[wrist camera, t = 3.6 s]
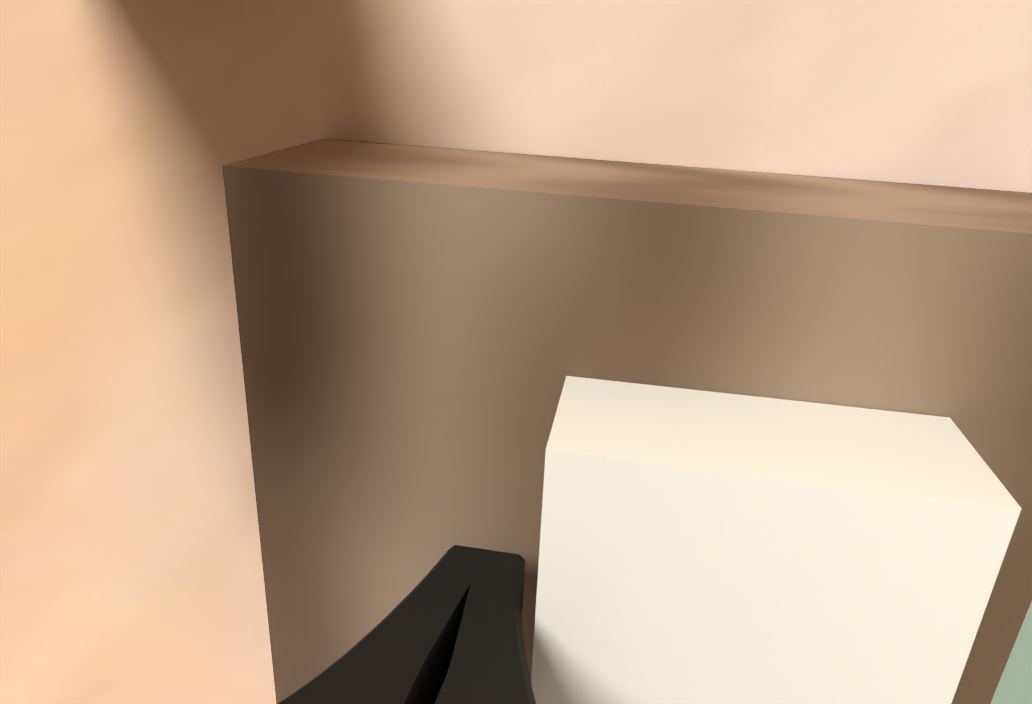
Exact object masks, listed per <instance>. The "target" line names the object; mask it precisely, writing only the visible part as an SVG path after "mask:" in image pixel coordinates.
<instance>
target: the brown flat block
mask: <svg viewBox="0 0 1032 704" xmlns="http://www.w3.org/2000/svg"><path fill="white" fill-rule="evenodd" d="M223 174H224V183H225V193H226V203H227V213H228V223H229V233H230V243H231V253H232V263H233V273H234V283H235V293H236V303H237V313H238V323H239V333H240V343H241V353H242V363H243V373H244V383H245V393H246V403H247V413H248V423H249V433H250V443H251V453H252V463H253V472H254V482H255V492H256V502H257V512H258V522H259V532H260V542H261V552H262V562H263V572H264V582H265V592H266V602H267V612H268V622H269V632H270V642H271V652H272V662H273V672H274V682H275V692H276V702H277V704H278V703H279V702H281V701H282V700H284V699H285V698H287V697H288V696H290V695H291V694H293V693H294V692H296V691H297V690H299V689H300V688H301V687H303V686H304V685H306V684H307V683H308V682H310V681H311V680H312V679H314V678H315V677H316V676H318V675H319V674H320V673H322V672H323V671H324V670H325V669H327V668H328V667H329V666H331V665H332V664H333V663H334V662H335V661H337V660H338V659H339V658H340V657H342V656H343V655H344V654H345V653H346V652H348V651H349V650H350V649H351V648H352V647H353V646H354V645H356V644H357V643H358V642H359V641H360V640H361V639H362V638H363V637H365V636H366V635H367V634H368V633H369V632H370V631H371V630H372V629H373V628H375V627H376V626H377V625H378V624H379V623H380V622H381V621H382V620H383V619H384V618H385V617H386V616H387V615H388V614H389V613H390V612H391V611H392V610H393V609H394V608H395V607H396V606H397V605H398V604H399V603H400V602H401V601H402V600H403V599H404V598H405V597H406V596H407V595H408V594H409V593H410V592H411V591H412V590H413V589H414V588H415V587H416V586H417V585H418V584H419V583H420V582H421V581H422V579H423V578H424V577H425V576H426V575H427V574H428V573H429V572H430V571H431V569H432V568H433V567H434V566H435V565H436V564H437V563H438V561H439V560H440V559H441V558H442V557H443V556H444V554H445V553H446V552H447V551H448V550H449V549H450V548H451V547H453V546H454V545H460V546H466V547H473V548H480V549H486V550H493V551H500V552H506V553H513V554H520V555H521V557H522V558H523V559H524V560H525V576H524V592H523V608H522V628H523V636H524V644H525V652H526V658H527V664H528V669H529V674H530V679H531V675H532V659H533V643H534V627H535V611H536V595H537V579H538V563H539V548H540V532H541V516H542V500H543V484H544V468H545V452H546V447H547V443H548V439H549V436H550V432H551V429H552V425H553V422H554V418H555V414H556V411H557V407H558V404H559V400H560V397H561V393H562V390H563V386H564V382H565V379H566V376H573V377H582V378H591V379H601V380H610V381H619V382H628V383H637V384H647V385H656V386H665V387H674V388H683V389H693V390H702V391H711V392H720V393H729V394H739V395H748V396H757V397H766V398H775V399H785V400H794V401H803V402H812V403H821V404H831V405H840V406H849V407H858V408H867V409H877V410H886V411H895V412H904V413H913V414H923V415H932V416H941V417H950V418H951V420H952V421H953V422H954V423H955V425H956V426H957V427H958V428H959V430H960V431H961V432H962V434H963V435H964V436H965V437H966V439H967V440H968V441H969V442H970V444H971V445H972V446H973V447H974V449H975V450H976V451H977V453H978V454H979V455H980V456H981V458H982V459H983V460H984V461H985V463H986V464H987V465H988V466H989V468H990V469H991V470H992V472H993V473H994V474H995V475H996V477H997V478H998V479H999V480H1000V482H1001V483H1002V484H1003V485H1004V487H1005V488H1006V489H1007V491H1008V492H1009V493H1010V494H1011V496H1012V497H1013V498H1014V499H1015V501H1016V502H1017V503H1018V504H1019V506H1020V507H1021V508H1022V509H1021V512H1020V514H1019V517H1018V520H1017V523H1016V526H1015V528H1014V531H1013V534H1012V537H1011V539H1010V542H1009V545H1008V548H1007V551H1006V553H1005V556H1004V559H1003V562H1002V564H1001V567H1000V570H999V573H998V576H997V578H996V581H995V584H994V587H993V589H992V592H991V595H990V598H989V601H988V603H987V606H986V609H985V612H984V614H983V617H982V620H981V623H980V626H979V628H978V631H977V634H976V637H975V639H974V642H973V645H972V648H971V651H970V653H969V656H968V659H967V662H966V664H965V667H964V670H963V673H962V675H961V678H960V681H959V684H958V687H957V689H956V692H955V695H954V698H953V700H952V703H951V704H990V703H991V701H992V698H993V696H994V693H995V691H996V688H997V686H998V684H999V681H1000V679H1001V676H1002V674H1003V671H1004V669H1005V666H1006V664H1007V661H1008V659H1009V656H1010V654H1011V651H1012V649H1013V646H1014V644H1015V641H1016V639H1017V636H1018V634H1019V631H1020V629H1021V626H1022V624H1023V621H1024V619H1025V616H1026V614H1027V611H1028V609H1029V607H1030V604H1031V602H1032V193H1025V192H1012V191H999V190H986V189H973V188H959V187H946V186H933V185H920V184H907V183H894V182H881V181H868V180H854V179H841V178H828V177H815V176H802V175H789V174H776V173H763V172H749V171H736V170H723V169H710V168H697V167H684V166H671V165H658V164H644V163H631V162H618V161H605V160H592V159H579V158H566V157H553V156H539V155H526V154H513V153H500V152H487V151H474V150H461V149H448V148H434V147H421V146H408V145H395V144H382V143H369V142H356V141H343V140H329V139H322V140H318V141H314V142H310V143H307V144H303V145H299V146H295V147H292V148H288V149H284V150H281V151H277V152H273V153H269V154H266V155H262V156H258V157H254V158H251V159H247V160H243V161H240V162H236V163H232V164H228V165H225V166H223Z"/></svg>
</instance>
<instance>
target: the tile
mask: <svg viewBox="0 0 1032 704" xmlns="http://www.w3.org/2000/svg"><path fill="white" fill-rule="evenodd" d="M1021 509H1022V508H1021V507H1020V506H1019V504H1018V503H1017V502H1016V501H1015V499H1014V498H1013V497H1012V496H1011V494H1010V493H1009V492H1008V491H1007V489H1006V488H1005V487H1004V485H1003V484H1002V483H1001V482H1000V480H999V479H998V478H997V477H996V475H995V474H994V473H993V472H992V470H991V469H990V468H989V466H988V465H987V464H986V463H985V461H984V460H983V459H982V458H981V456H980V455H979V454H978V453H977V451H976V450H975V449H974V447H973V446H972V445H971V444H970V442H969V441H968V440H967V439H966V437H965V436H964V435H963V434H962V432H961V431H960V430H959V428H958V427H957V426H956V425H955V423H954V422H953V421H952V420H951V418H950V417H941V416H932V415H923V414H913V413H904V412H895V411H886V410H877V409H867V408H858V407H849V406H840V405H831V404H821V403H812V402H803V401H794V400H785V399H775V398H766V397H757V396H748V395H739V394H729V393H720V392H711V391H702V390H693V389H683V388H674V387H665V386H656V385H647V384H637V383H628V382H619V381H610V380H601V379H591V378H582V377H573V376H566V379H565V382H564V386H563V390H562V393H561V397H560V400H559V404H558V407H557V411H556V414H555V418H554V422H553V425H552V429H551V432H550V436H549V439H548V443H547V447H546V452H545V468H544V484H543V500H542V516H541V532H540V548H539V563H538V579H537V595H536V611H535V627H534V643H533V659H532V675H531V684H532V689H533V693H534V698H535V702H536V704H951V703H952V700H953V698H954V695H955V692H956V689H957V687H958V684H959V681H960V678H961V675H962V673H963V670H964V667H965V664H966V662H967V659H968V656H969V653H970V651H971V648H972V645H973V642H974V639H975V637H976V634H977V631H978V628H979V626H980V623H981V620H982V617H983V614H984V612H985V609H986V606H987V603H988V601H989V598H990V595H991V592H992V589H993V587H994V584H995V581H996V578H997V576H998V573H999V570H1000V567H1001V564H1002V562H1003V559H1004V556H1005V553H1006V551H1007V548H1008V545H1009V542H1010V539H1011V537H1012V534H1013V531H1014V528H1015V526H1016V523H1017V520H1018V517H1019V514H1020V512H1021Z"/></svg>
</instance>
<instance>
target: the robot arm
mask: <svg viewBox="0 0 1032 704" xmlns="http://www.w3.org/2000/svg"><path fill="white" fill-rule="evenodd" d="M524 576H525V560H524V559H523V558H522V557H521V555H520V554H513V553H506V552H500V551H493V550H486V549H480V548H473V547H466V546H460V545H454V546H453V547H451V548H450V549H449V550H448V551H447V552H446V553H445V554H444V556H443V557H442V558H441V559H440V560H439V561H438V563H437V564H436V565H435V566H434V567H433V568H432V569H431V571H430V572H429V573H428V574H427V575H426V576H425V577H424V578H423V579H422V581H421V582H420V583H419V584H418V585H417V586H416V587H415V588H414V589H413V590H412V591H411V592H410V593H409V594H408V595H407V596H406V597H405V598H404V599H403V600H402V601H401V602H400V603H399V604H398V605H397V606H396V607H395V608H394V609H393V610H392V611H391V612H390V613H389V614H388V615H387V616H386V617H385V618H384V619H383V620H382V621H381V622H380V623H379V624H378V625H377V626H376V627H375V628H373V629H372V630H371V631H370V632H369V633H368V634H367V635H366V636H365V637H363V638H362V639H361V640H360V641H359V642H358V643H357V644H356V645H354V646H353V647H352V648H351V649H350V650H349V651H348V652H346V653H345V654H344V655H343V656H342V657H340V658H339V659H338V660H337V661H335V662H334V663H333V664H332V665H331V666H329V667H328V668H327V669H325V670H324V671H323V672H322V673H320V674H319V675H318V676H316V677H315V678H314V679H312V680H311V681H310V682H308V683H307V684H306V685H304V686H303V687H301V688H300V689H299V690H297V691H296V692H294V693H293V694H291V695H290V696H288V697H287V698H285V699H284V700H282V701H281V702H279V703H278V704H536V702H535V698H534V693H533V689H532V684H531V679H530V674H529V669H528V664H527V658H526V652H525V644H524V636H523V628H522V608H523V592H524Z"/></svg>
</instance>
